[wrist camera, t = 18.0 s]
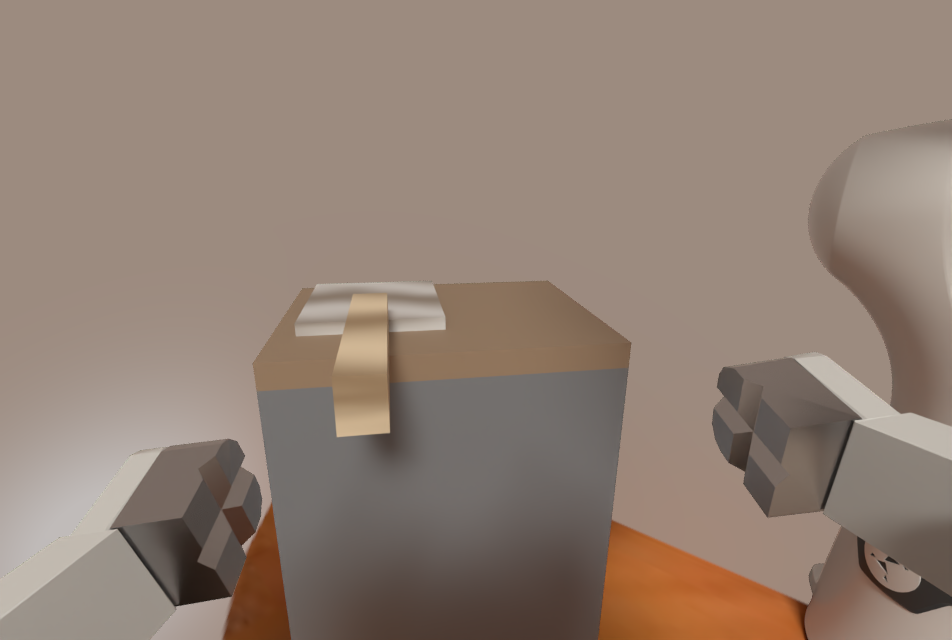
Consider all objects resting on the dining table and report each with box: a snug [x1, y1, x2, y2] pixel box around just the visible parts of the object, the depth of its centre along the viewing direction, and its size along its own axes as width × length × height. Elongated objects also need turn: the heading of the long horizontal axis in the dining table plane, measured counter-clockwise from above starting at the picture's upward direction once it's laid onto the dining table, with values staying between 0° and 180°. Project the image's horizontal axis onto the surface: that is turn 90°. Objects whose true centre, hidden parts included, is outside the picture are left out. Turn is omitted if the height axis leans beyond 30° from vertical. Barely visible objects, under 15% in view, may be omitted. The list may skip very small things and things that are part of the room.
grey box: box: [253, 281, 631, 640], centre depth 39 cm, size 21×16×26 cm
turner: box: [294, 281, 446, 437], centre depth 29 cm, size 22×9×2 cm, turn 10°
